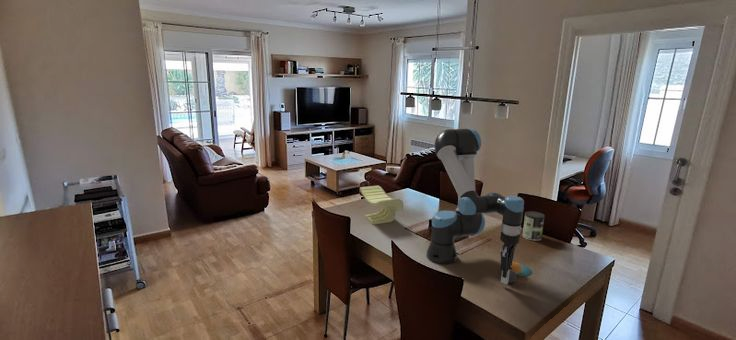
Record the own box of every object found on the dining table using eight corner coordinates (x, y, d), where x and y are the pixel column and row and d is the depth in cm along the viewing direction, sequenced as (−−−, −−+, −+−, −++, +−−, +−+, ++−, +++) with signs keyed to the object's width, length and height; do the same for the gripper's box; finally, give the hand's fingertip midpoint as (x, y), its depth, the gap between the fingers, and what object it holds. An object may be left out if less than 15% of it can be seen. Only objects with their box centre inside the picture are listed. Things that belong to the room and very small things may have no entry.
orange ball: (513, 264, 168) (517, 258, 171) (504, 268, 171) (508, 262, 175) (522, 274, 167) (525, 267, 171) (513, 278, 171) (516, 271, 174)
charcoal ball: (514, 266, 165) (513, 275, 167) (501, 268, 165) (501, 277, 167) (519, 275, 160) (518, 284, 162) (506, 276, 160) (505, 286, 162)
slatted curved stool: (402, 226, 224) (403, 198, 220) (378, 229, 218) (379, 201, 214) (381, 209, 251) (381, 184, 247) (359, 212, 245) (360, 187, 240)
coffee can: (542, 236, 214) (546, 213, 210) (540, 242, 205) (543, 218, 202) (523, 232, 219) (526, 209, 215) (520, 238, 210) (523, 214, 207)
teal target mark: (512, 276, 169) (512, 276, 169) (500, 263, 180) (500, 263, 180) (536, 275, 170) (536, 275, 170) (523, 262, 182) (523, 262, 182)
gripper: (514, 240, 147) (508, 292, 153) (524, 230, 157) (517, 279, 163) (496, 235, 151) (490, 286, 157) (506, 225, 161) (501, 274, 167)
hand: (504, 282), depth 160 cm, fingers closed
